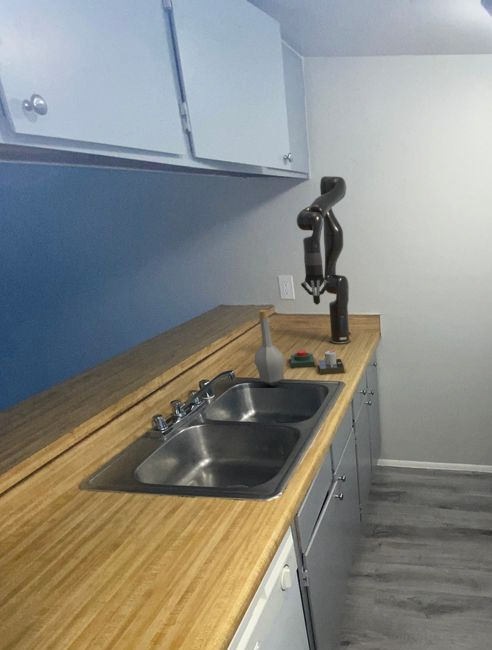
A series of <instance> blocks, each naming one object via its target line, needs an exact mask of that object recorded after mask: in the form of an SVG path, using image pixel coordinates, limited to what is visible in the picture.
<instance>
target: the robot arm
mask: <svg viewBox="0 0 492 650" xmlns="http://www.w3.org/2000/svg"><path fill="white" fill-rule="evenodd" d="M319 191H320V195H318V197H316V198H315V199H314V200H313V201H312V202H311V203H310V205H309V206H307V207H304V208H303V209H301V210H300V211H299V212H298V214H297V216H296V225H297V227H298V229H300V230H301V231H311V232H312V234H311V235H309V236H306V237H304V238H303V240H302V243H303V260H304V261H303V262H304V263H303V264H304V270H305V278H304V281H302V282H300V286H301V287H302V288H303V289H304V290H305V291H306V293H307V294H308V295H309V296H310V295H311V296H312V300H313V304H314V305H316V306H317V305H319V304H320V303H321V295H324V293H325V292H326V293H328V294H331V295H335V300H332V301H330V302H329V304H328V308H329V323H330V337H331V338H330V339H331V343H332V344H335V345H343V344H348V343H350V335H351V331H350V328H349V325H350V324H349V302H350V301H349V299H350V296H349V295H350V294H349V293H350V287H349V285H350V284H349V280H348V278H347V276H346V275H342V274H337V262H338V259H339V258H340V255H341V253H342V251H343V248H344V230H343V227H342V224H340V222H339V220H338V218H337V217H336V215H335V212H334V210H333V207H334V206H335V205H337V204H338V203H339V202H341V201H342V200H343V199H344V198H345V197H346V194H347V183H346V180H345V179H344V178H343V177H341V176H335V175H334V176H332V175H331V176H330V175H328V176H327V175H326V176H322V177H321V178H320V183H319ZM322 230H323V246H324V268H323V257H322V251H321V238H322V237H321V236H322ZM307 285H308V286H309V287H310V288H311V290H310V288H308V286H307ZM322 285H323V287H322ZM321 287H322V288H321ZM320 289H321V290H320Z"/></svg>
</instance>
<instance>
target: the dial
mask: <svg viewBox="0 0 492 650" xmlns="http://www.w3.org/2000/svg"><path fill="white" fill-rule="evenodd" d="M336 359H337V352H336V351H335V350H327V351H325V352H324V360H325V364H326V365H335V364H336Z"/></svg>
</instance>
